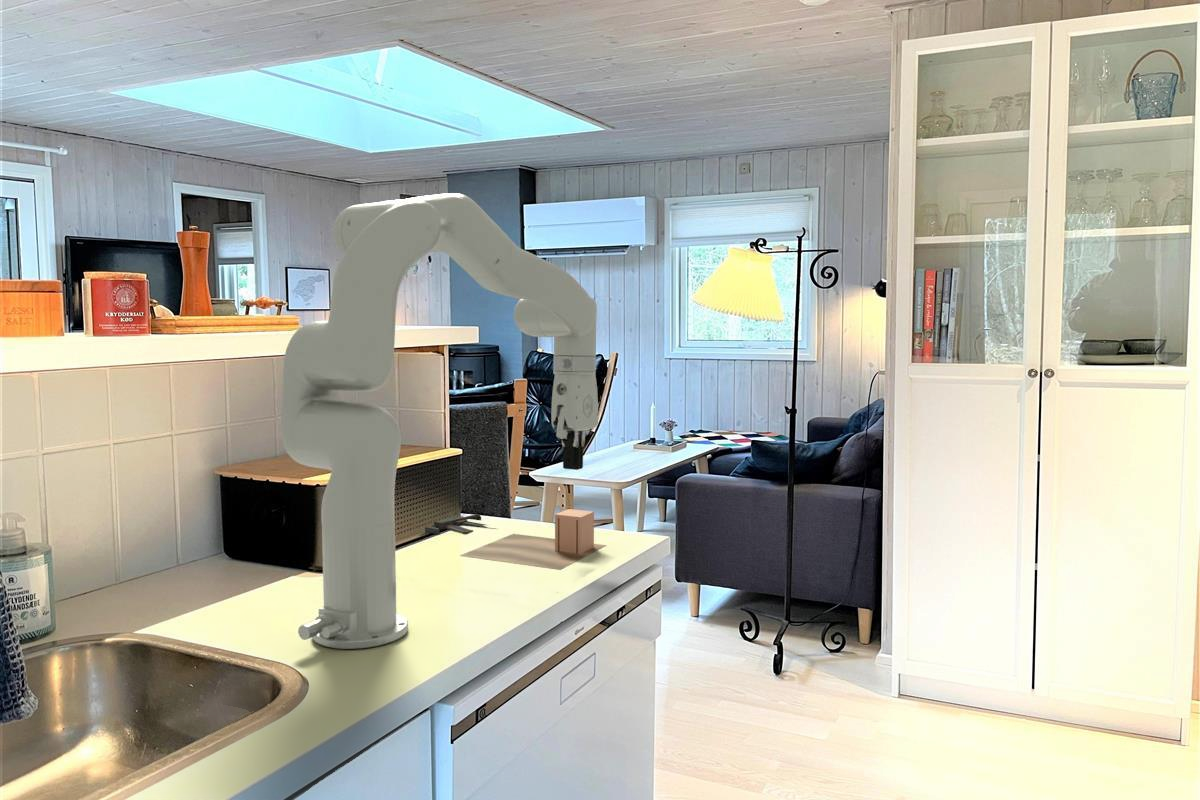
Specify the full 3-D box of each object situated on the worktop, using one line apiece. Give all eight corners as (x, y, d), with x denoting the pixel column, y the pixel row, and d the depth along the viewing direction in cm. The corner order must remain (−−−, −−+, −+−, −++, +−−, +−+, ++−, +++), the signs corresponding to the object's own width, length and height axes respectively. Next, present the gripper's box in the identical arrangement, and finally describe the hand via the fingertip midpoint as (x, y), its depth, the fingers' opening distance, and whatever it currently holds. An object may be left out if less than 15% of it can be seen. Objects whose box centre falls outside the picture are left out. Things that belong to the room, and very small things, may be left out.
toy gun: (523, 520, 185) (463, 509, 191) (475, 532, 168) (410, 520, 174) (522, 534, 185) (462, 523, 191) (473, 548, 168) (409, 536, 174)
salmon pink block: (580, 554, 157) (580, 517, 156) (555, 550, 159) (555, 514, 159) (593, 547, 162) (593, 511, 161) (568, 544, 164) (568, 508, 163)
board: (560, 578, 147) (560, 569, 147) (459, 563, 156) (459, 555, 156) (606, 553, 163) (606, 545, 163) (513, 541, 172) (513, 533, 172)
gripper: (574, 367, 149) (572, 475, 150) (611, 366, 162) (609, 465, 164) (535, 366, 152) (533, 472, 153) (575, 364, 166) (573, 462, 167)
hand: (572, 468), depth 159 cm, fingers closed
